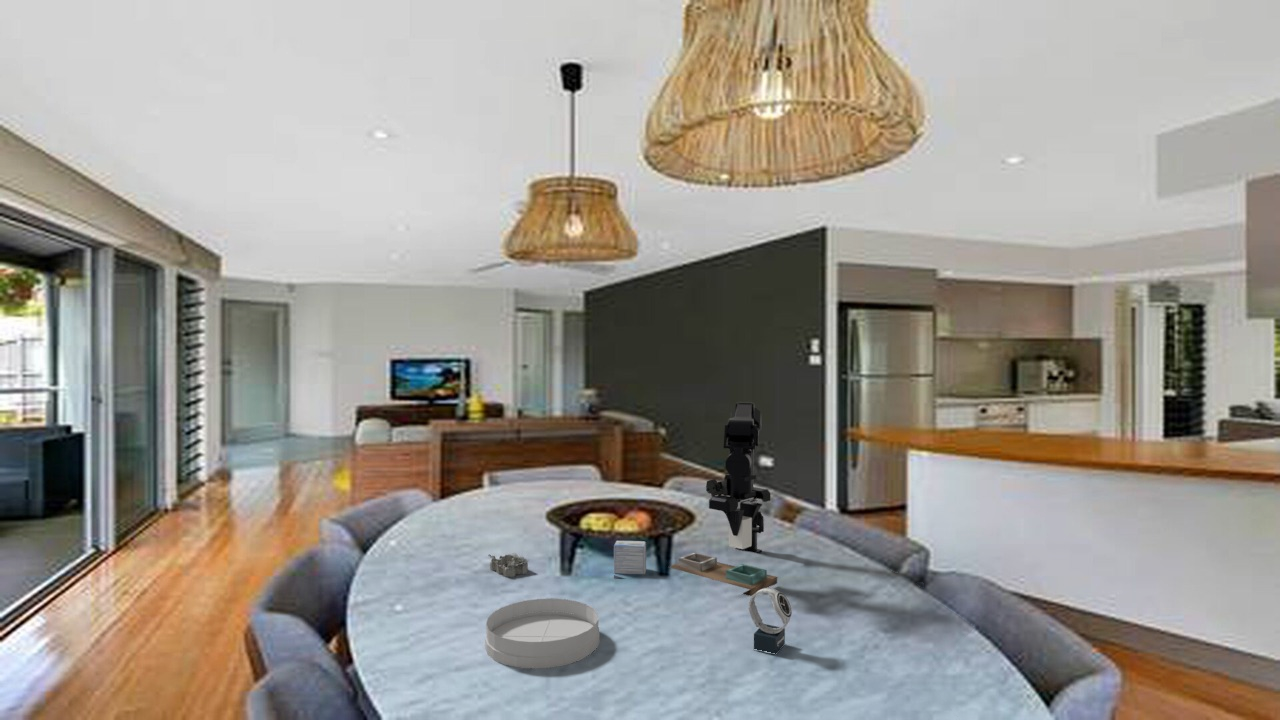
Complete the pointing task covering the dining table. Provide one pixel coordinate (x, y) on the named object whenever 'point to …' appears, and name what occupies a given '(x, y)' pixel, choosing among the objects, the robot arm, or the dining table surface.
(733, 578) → the socket board
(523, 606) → the dish
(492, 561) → the toy castle
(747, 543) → the plug
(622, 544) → the medicine box
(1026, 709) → the dining table surface
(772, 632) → the watch
